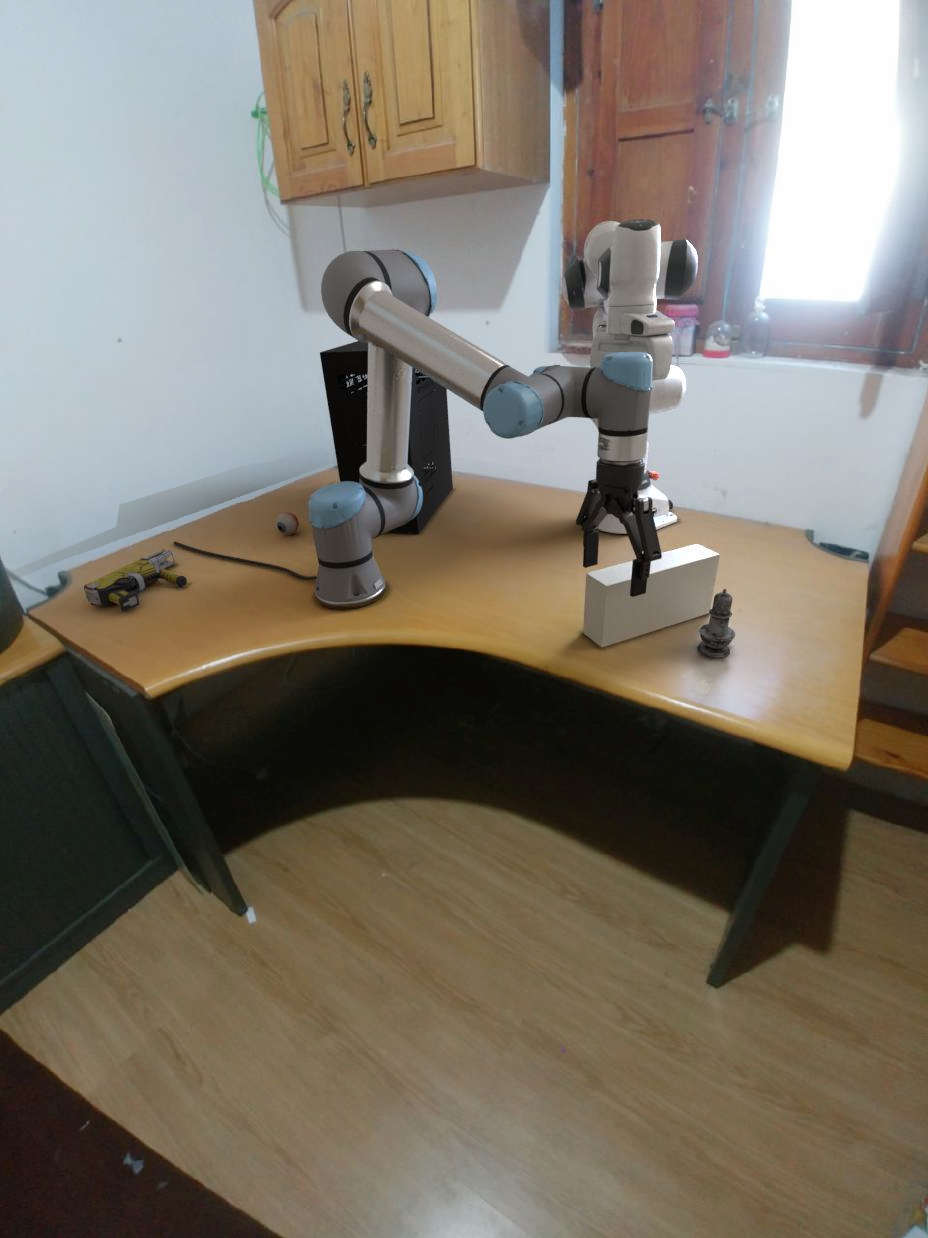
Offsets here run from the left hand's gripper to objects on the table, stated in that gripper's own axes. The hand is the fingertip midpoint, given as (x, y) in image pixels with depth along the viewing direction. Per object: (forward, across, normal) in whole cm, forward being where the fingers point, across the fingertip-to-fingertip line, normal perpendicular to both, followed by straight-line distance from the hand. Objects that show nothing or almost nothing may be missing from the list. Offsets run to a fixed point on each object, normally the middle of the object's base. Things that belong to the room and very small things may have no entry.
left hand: (612, 579), depth 106 cm
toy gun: (+10, -68, -78) cm, 104 cm away
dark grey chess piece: (+12, +13, +13) cm, 22 cm away
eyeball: (+10, -85, -43) cm, 96 cm away
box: (+12, 0, +9) cm, 15 cm away
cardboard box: (+11, -87, -9) cm, 88 cm away
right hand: (-25, -24, +19) cm, 40 cm away
